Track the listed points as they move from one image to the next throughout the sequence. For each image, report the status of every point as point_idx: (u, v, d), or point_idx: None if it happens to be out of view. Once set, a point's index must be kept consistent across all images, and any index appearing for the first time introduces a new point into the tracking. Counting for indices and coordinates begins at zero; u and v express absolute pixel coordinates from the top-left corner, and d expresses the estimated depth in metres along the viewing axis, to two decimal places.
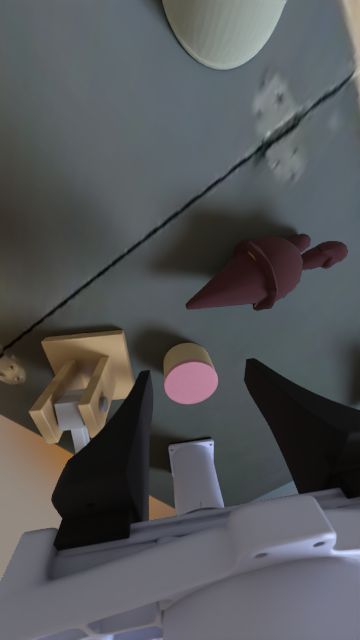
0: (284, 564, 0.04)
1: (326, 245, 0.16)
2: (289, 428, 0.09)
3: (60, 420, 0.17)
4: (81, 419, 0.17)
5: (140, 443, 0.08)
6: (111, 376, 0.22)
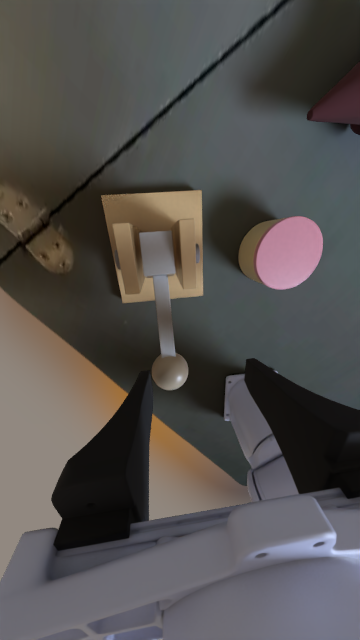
0: (284, 564, 0.04)
1: None
2: (289, 428, 0.09)
3: (146, 259, 0.12)
4: (173, 259, 0.12)
5: (140, 443, 0.08)
6: None
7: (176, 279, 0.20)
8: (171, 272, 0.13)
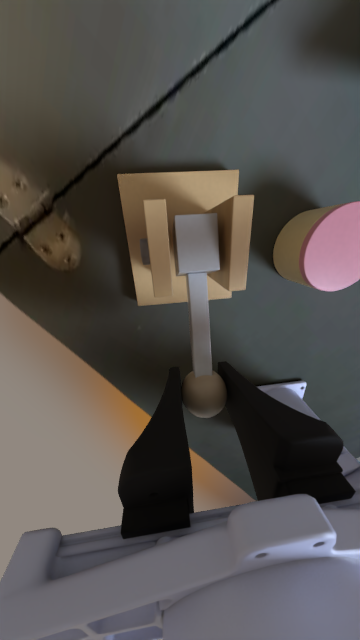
0: (284, 564, 0.04)
1: None
2: (249, 434, 0.09)
3: (182, 251, 0.09)
4: (217, 251, 0.10)
5: None
6: None
7: None
8: (214, 268, 0.10)
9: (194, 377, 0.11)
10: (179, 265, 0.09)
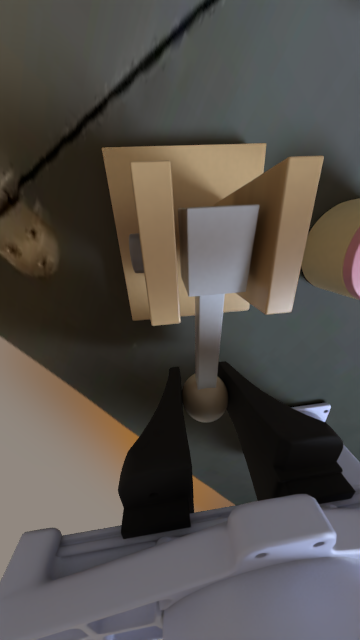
0: (284, 564, 0.04)
1: None
2: (249, 434, 0.09)
3: (196, 267, 0.06)
4: (248, 267, 0.06)
5: None
6: None
7: None
8: (238, 291, 0.07)
9: (197, 389, 0.11)
10: (190, 288, 0.06)
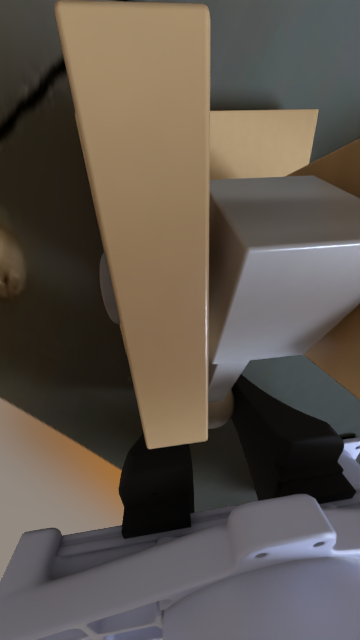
0: (284, 564, 0.04)
1: None
2: (250, 434, 0.09)
3: (234, 337, 0.03)
4: (326, 332, 0.03)
5: None
6: None
7: None
8: (293, 354, 0.04)
9: None
10: (216, 358, 0.04)
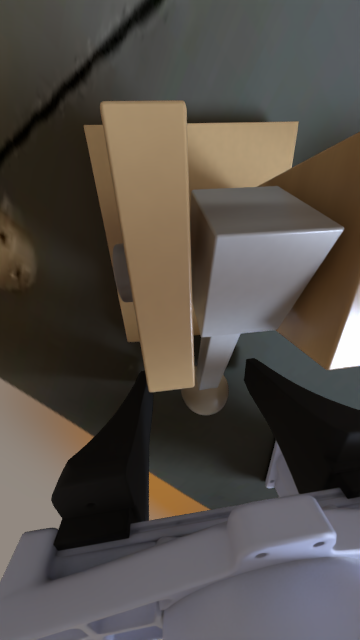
0: (284, 564, 0.04)
1: None
2: (289, 428, 0.09)
3: (216, 310, 0.04)
4: (290, 307, 0.04)
5: (140, 443, 0.08)
6: None
7: None
8: (268, 329, 0.05)
9: (198, 389, 0.10)
10: (204, 330, 0.05)
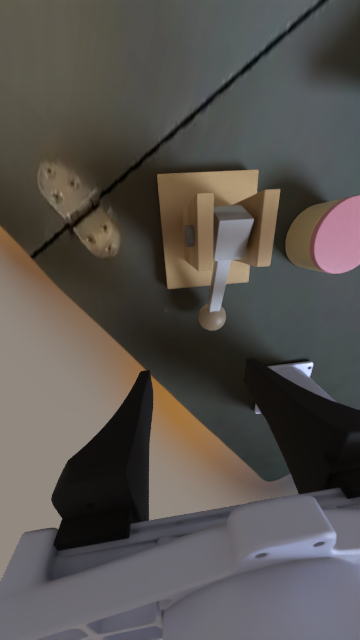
0: (284, 564, 0.04)
1: None
2: (289, 428, 0.09)
3: (219, 247, 0.12)
4: (245, 247, 0.13)
5: (140, 443, 0.08)
6: None
7: None
8: (239, 258, 0.13)
9: (208, 312, 0.19)
10: (215, 257, 0.13)
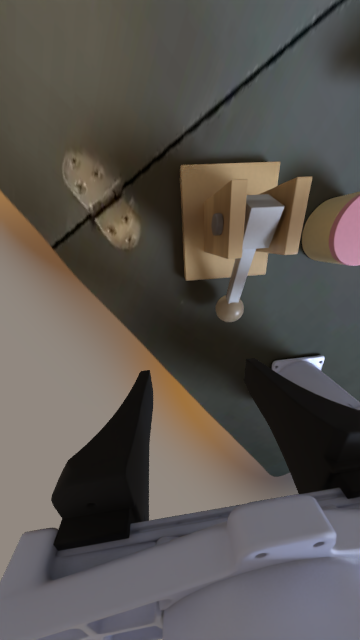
0: (284, 564, 0.04)
1: None
2: (289, 428, 0.09)
3: (248, 235, 0.13)
4: (272, 235, 0.13)
5: (140, 443, 0.08)
6: None
7: None
8: (265, 247, 0.14)
9: (227, 303, 0.19)
10: None
